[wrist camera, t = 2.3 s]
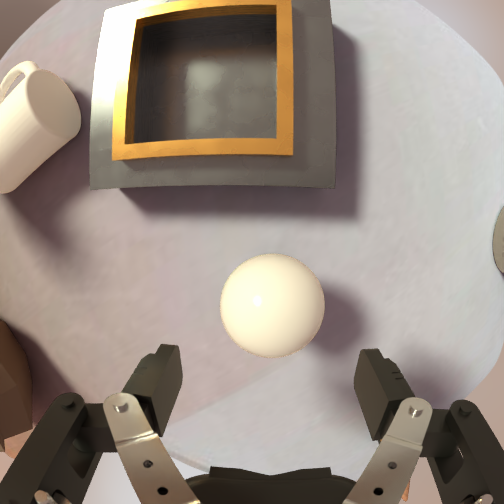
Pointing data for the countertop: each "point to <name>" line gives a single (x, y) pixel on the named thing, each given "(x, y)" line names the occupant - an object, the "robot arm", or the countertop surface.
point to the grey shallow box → (214, 95)
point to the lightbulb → (272, 305)
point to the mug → (33, 122)
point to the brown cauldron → (13, 387)
